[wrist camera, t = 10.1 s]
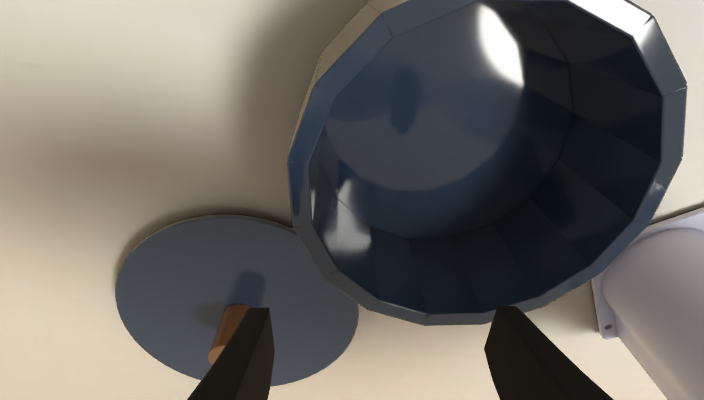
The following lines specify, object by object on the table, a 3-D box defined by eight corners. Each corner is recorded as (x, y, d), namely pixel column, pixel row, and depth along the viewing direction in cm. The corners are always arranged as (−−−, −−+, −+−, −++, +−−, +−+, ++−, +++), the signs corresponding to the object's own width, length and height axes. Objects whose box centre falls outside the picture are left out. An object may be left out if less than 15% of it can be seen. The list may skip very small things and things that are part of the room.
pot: (632, 134, 20) (742, 191, 15) (421, 281, 25) (444, 365, 19) (476, -119, 14) (559, -179, 9) (244, 135, 19) (208, 196, 14)
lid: (404, 301, 26) (415, 355, 22) (262, 399, 31) (252, 455, 27) (215, 156, 20) (187, 196, 16) (79, 308, 25) (35, 363, 21)
